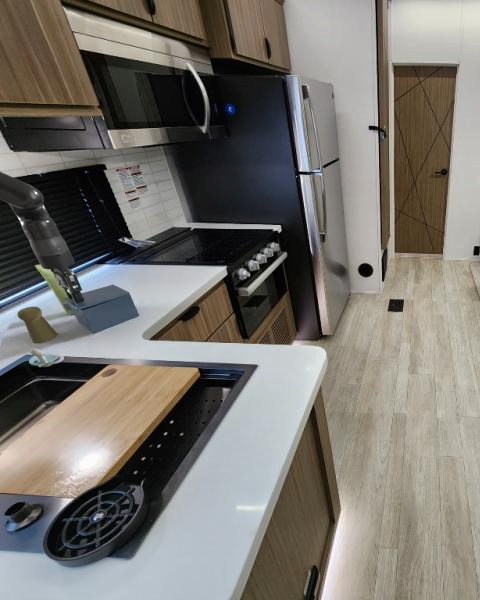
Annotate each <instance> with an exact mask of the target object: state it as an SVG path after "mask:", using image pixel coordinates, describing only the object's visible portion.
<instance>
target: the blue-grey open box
mask: <svg viewBox="0 0 480 600" xmlns="http://www.w3.org/2000/svg"><path fill="white" fill-rule="evenodd" d="M69 306H70V308H71V309H72V311H73V313H74V314H73V315H74V317H75V318H76V320H77V322H78V324H79V325H81V327H84V328H86V329H87V330H88V331H90V332H91V333H92V334H94V335H95V334H97V333H100V332H102V331H105V330H108V329H110V328H112V327H115V326H118V325H121V324H122V323H126V322H128V321H130V320H132V319H135V318H137V317H140V313H139V311H138V309H137V307H136V305H135V302H134V299H133V298H132V296H131V293H130V294H129V295H126V296H123V297H119V298H116V299H113V300H109V301H106V302H103V303H100V304H96V305H93V306H90V307H87V308H83V309H80V310H77V309H75V308H74V307H72V306H71V305H69Z"/></svg>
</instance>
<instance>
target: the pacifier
mask: <svg viewBox="0 0 480 600" xmlns="http://www.w3.org/2000/svg"><path fill="white" fill-rule="evenodd" d="M30 354H31V355H32V356H31V357H30V358H29V360H28V363H29V364H30V365H31V366H34V367H38V368H47V367H50V366H51V367H52V365H56V364H59V363H61V362H63V361H64V360H65V357H64V355H61V354H50V353H43V352H42V351H41V350H39V349H38V348H35V347H32V348H31V349H30Z"/></svg>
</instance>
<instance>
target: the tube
mask: <svg viewBox="0 0 480 600" xmlns="http://www.w3.org/2000/svg"><path fill="white" fill-rule="evenodd" d="M34 267H35V268H36V270H37V271H38V272H39V273H40V275H41V277H43V279H44V280H45V282H46V283H47V285H48V286H49V288H50V289H51V291H52V292H53V294H54V295H55V297H56V299H57V301H58V303H59V304H60V305H61V307H62V309H63V310H64V312H65V314H66V315H74V313H73V311H72V309H71V308H70V306H69V304H68V303H66V302H64V301H63V300H62V299H63V298H66V297H68V296H67V294H66V292H65V290H64V289H63V288H62V286H60V285H59V283H58V282H57V280H56V278H55V277H54V275H53V273H52V272H51V271H50V269H44V268H42V266H41V264H36V265H34ZM73 288H75V286H73Z"/></svg>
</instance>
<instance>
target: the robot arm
mask: <svg viewBox="0 0 480 600" xmlns="http://www.w3.org/2000/svg"><path fill="white" fill-rule="evenodd" d="M0 200H1V201H3V202H5V203H7V204H8V205H9V206H10V208H11V210H12V211H13V213H14V214H15V216H16V217H17V218H18V220H19V223H20V225H21V228H22V230H23V233H24V235H26V238H27V239H28V241H29V244H30V247H31V249H32V251H33V254H34V255H35V257H36V258H37V261H38V263H39V265H41V266H42V268H44V269H50V271H51V272H52V273H53V275H54V277H55V278H56V280H57V282H58V283H59V285H60V286H62V288H63V289H64V290H65V292H66V294H67V296H68V298H69V299H72V297H73V299H74V301H75V302H76V303H81V302H84V301H85V300H84V298H83V296H82V294H81V293H82V292H83V288H82V285H81V283H80V281H79V279H78V276H77V274H76V273H75V272H74V271H73V270H72V269H71V268H69V267H70V266H72V265H74V264H75V258H74V257H73V254H72V252H71V250H70V249H69V247H68V245H67V243H66V240H65V238H64V237H63V236H62V235H61V233H60V230H59V228H58V226H57V223H56V222H55V221H54V219H53V218H52V217H51V216H50V214H49V212H48V210H47V208H46V206H45V204H44V202H45V198H44V195H43V193H42V192H41V191H40V190H39V189H38V188H36V187H35V186H33V185H31V184H29V183H27V182H24V181H22V180H20V179H18V178H15V177H13V176H11V175H10V174H6V173H4V172H2V171H0ZM73 286H74V288H73ZM67 288H68V290H69V292H70V293H71V294H70V293H68V292H67V291H66V289H67ZM81 291H82V292H81ZM71 295H72V296H71Z"/></svg>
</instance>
